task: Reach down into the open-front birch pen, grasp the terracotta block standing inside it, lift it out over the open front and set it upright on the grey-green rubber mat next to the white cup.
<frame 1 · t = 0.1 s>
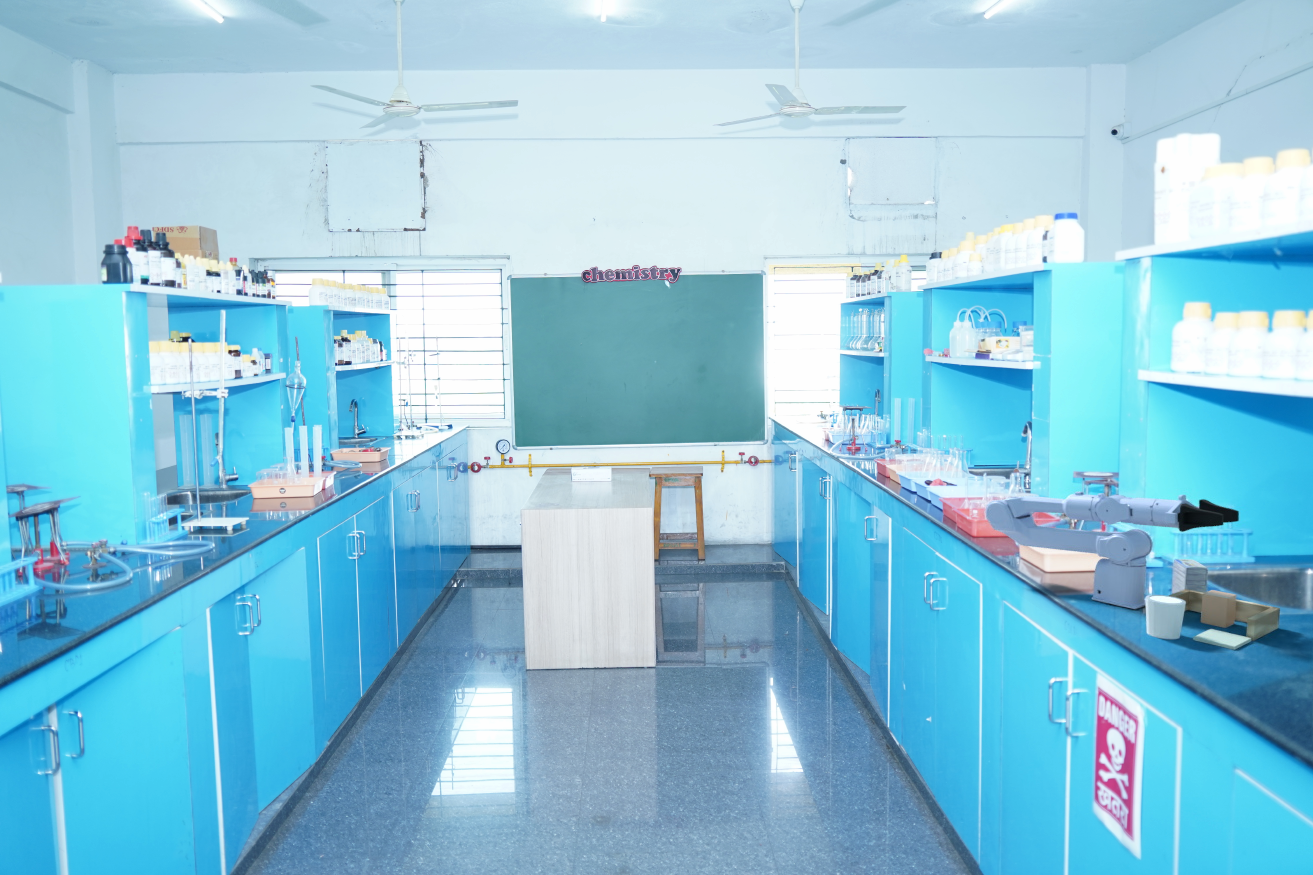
hand: (1230, 518, 180), 22 cm above the table, tool horizontal, fingers open, 7 cm apart
terracotta block: (1217, 623, 184), on the table
rubber mat: (1222, 640, 172), on the table
medicine box: (1188, 602, 198), on the table
white cup: (1162, 635, 176), on the table
birch pen: (1216, 623, 183), on the table
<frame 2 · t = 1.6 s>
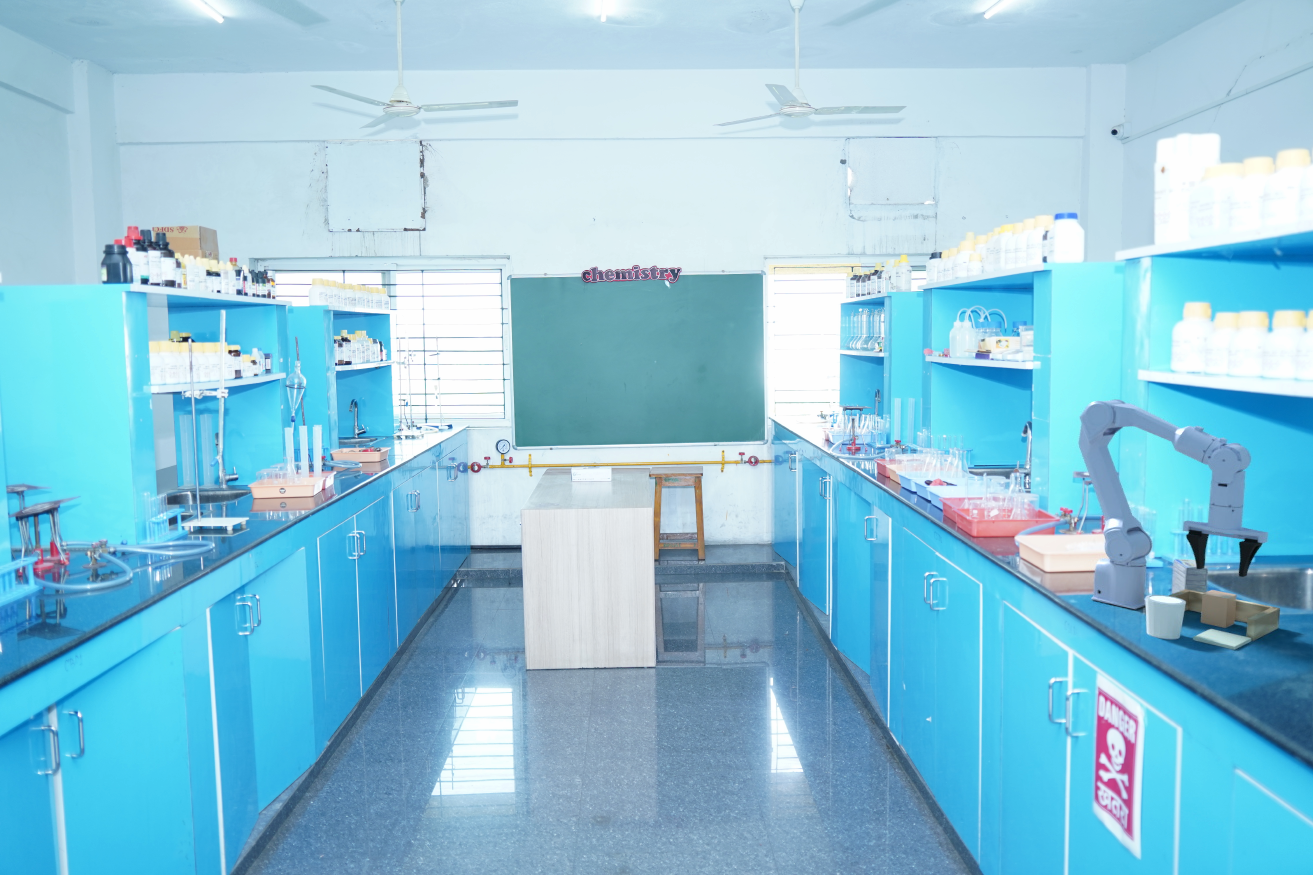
hand: (1221, 572, 182), 10 cm above the table, tool pointing down, fingers open, 7 cm apart
nothing on the table moved.
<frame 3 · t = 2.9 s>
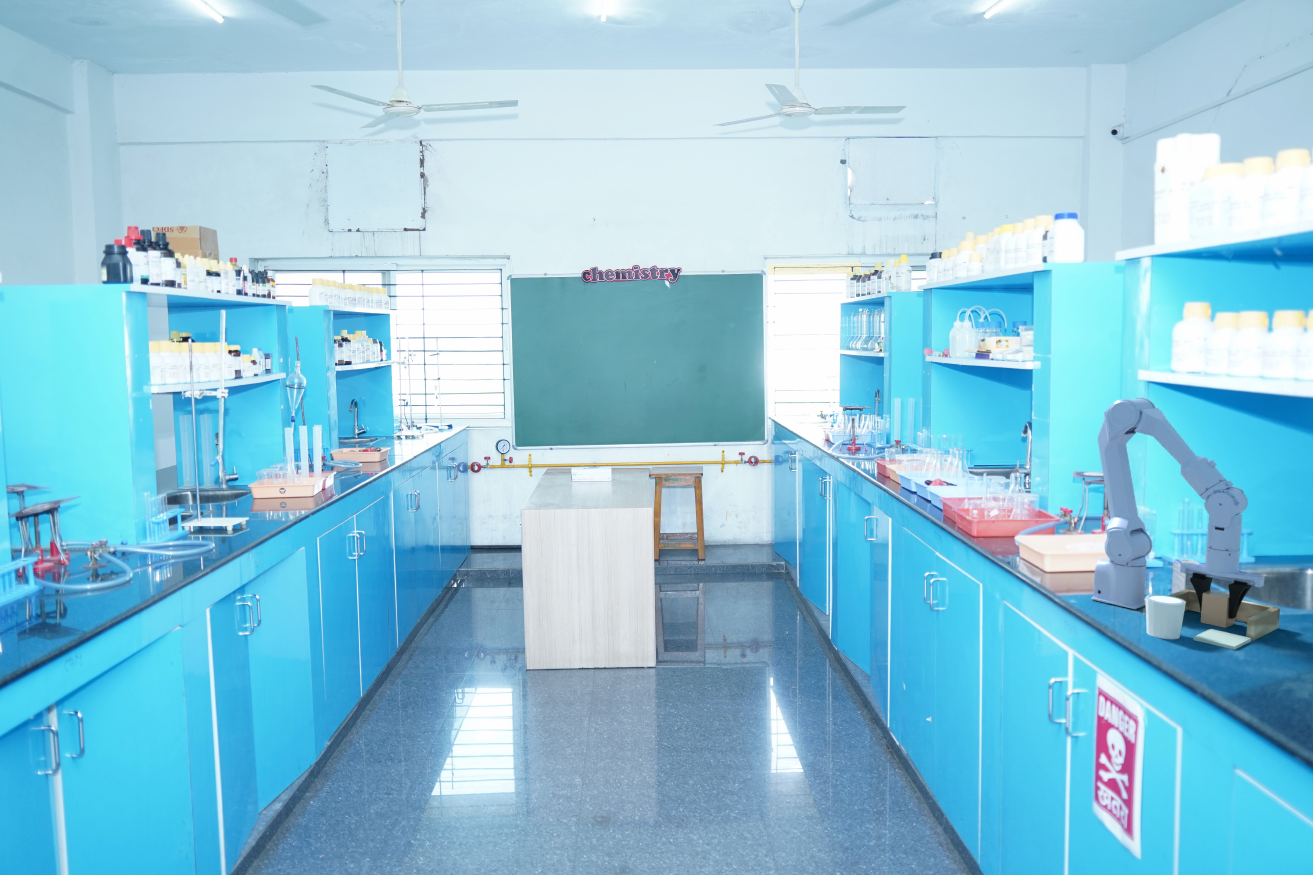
hand: (1218, 614, 183), 2 cm above the table, tool pointing down, fingers closed on terracotta block, 4 cm apart
terracotta block: (1217, 622, 183), on the table, touching gripper
everything else where it was.
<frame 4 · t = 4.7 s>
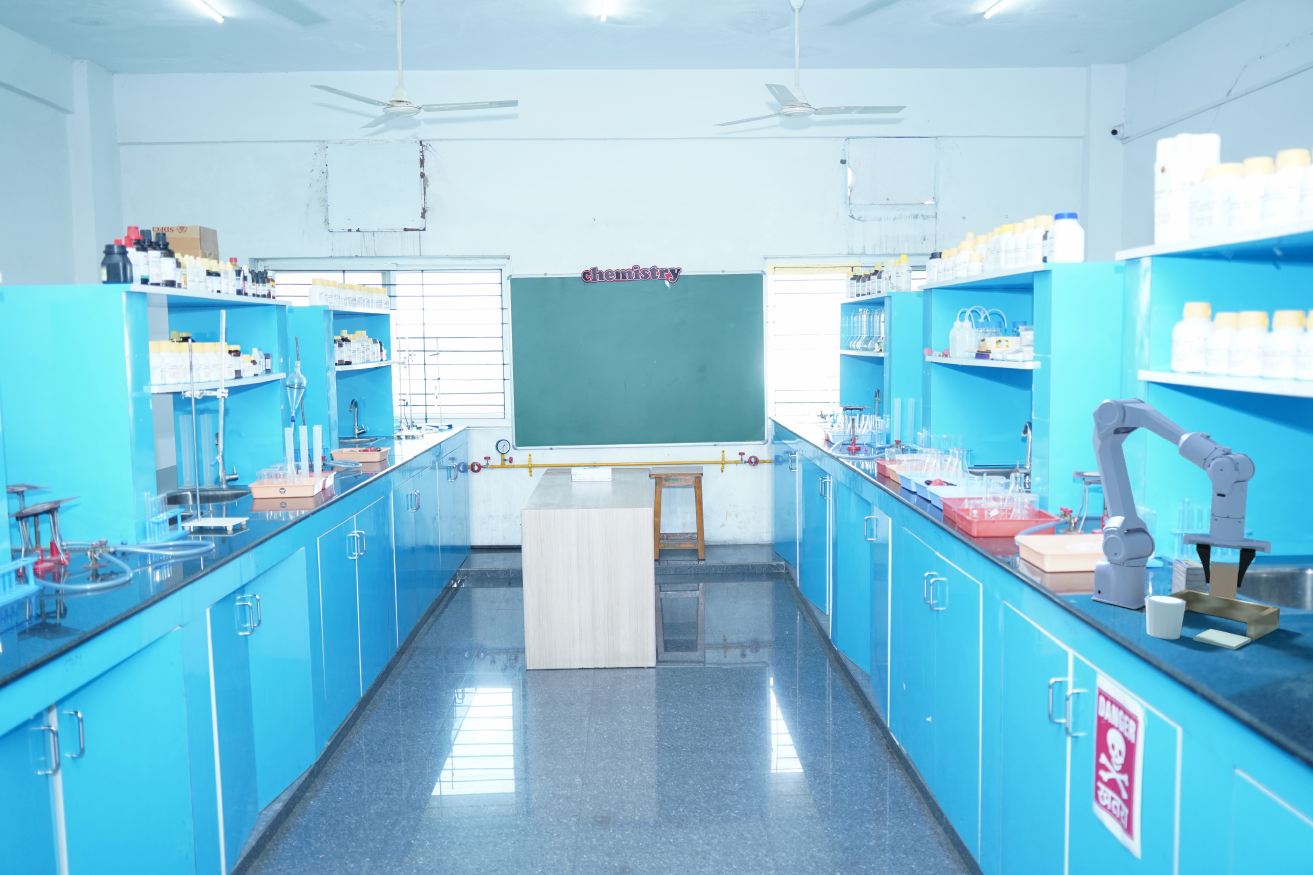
hand: (1223, 584, 179), 9 cm above the table, tool pointing down, fingers closed on terracotta block, 4 cm apart
terracotta block: (1222, 594, 179), point 7 cm above the table, touching gripper
everything else where it was.
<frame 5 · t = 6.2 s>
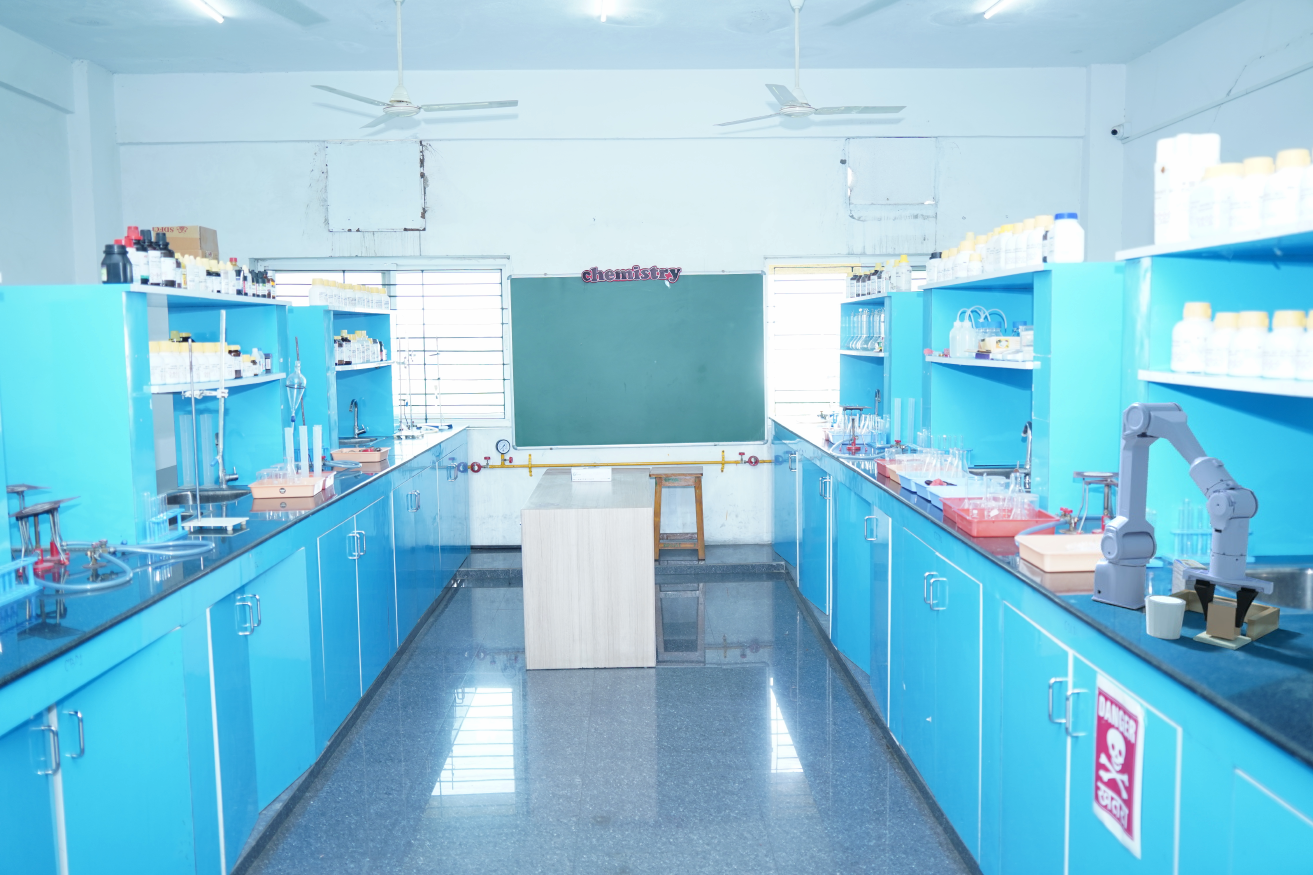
hand: (1223, 623, 172), 3 cm above the table, tool pointing down, fingers closed on terracotta block, 4 cm apart
terracotta block: (1223, 634, 173), point 1 cm above the table, touching gripper
everything else where it was.
when the fingers open (3 cm above the table, at t = 6.8 s): terracotta block stays where it is, resting on rubber mat.
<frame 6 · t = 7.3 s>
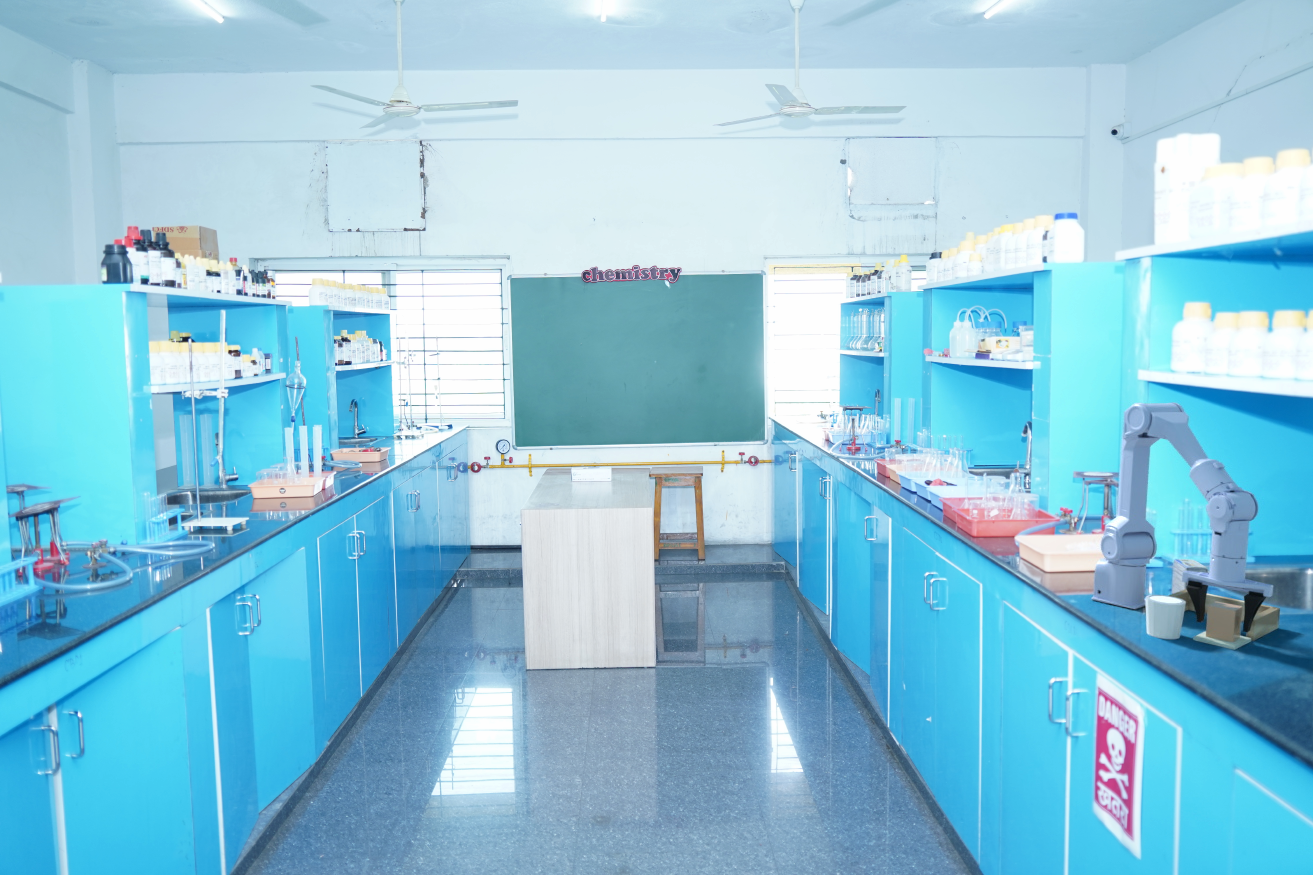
hand: (1223, 625, 172), 3 cm above the table, tool pointing down, fingers open, 7 cm apart
terracotta block: (1222, 636, 173), point 1 cm above the table, touching rubber mat
everything else where it was.
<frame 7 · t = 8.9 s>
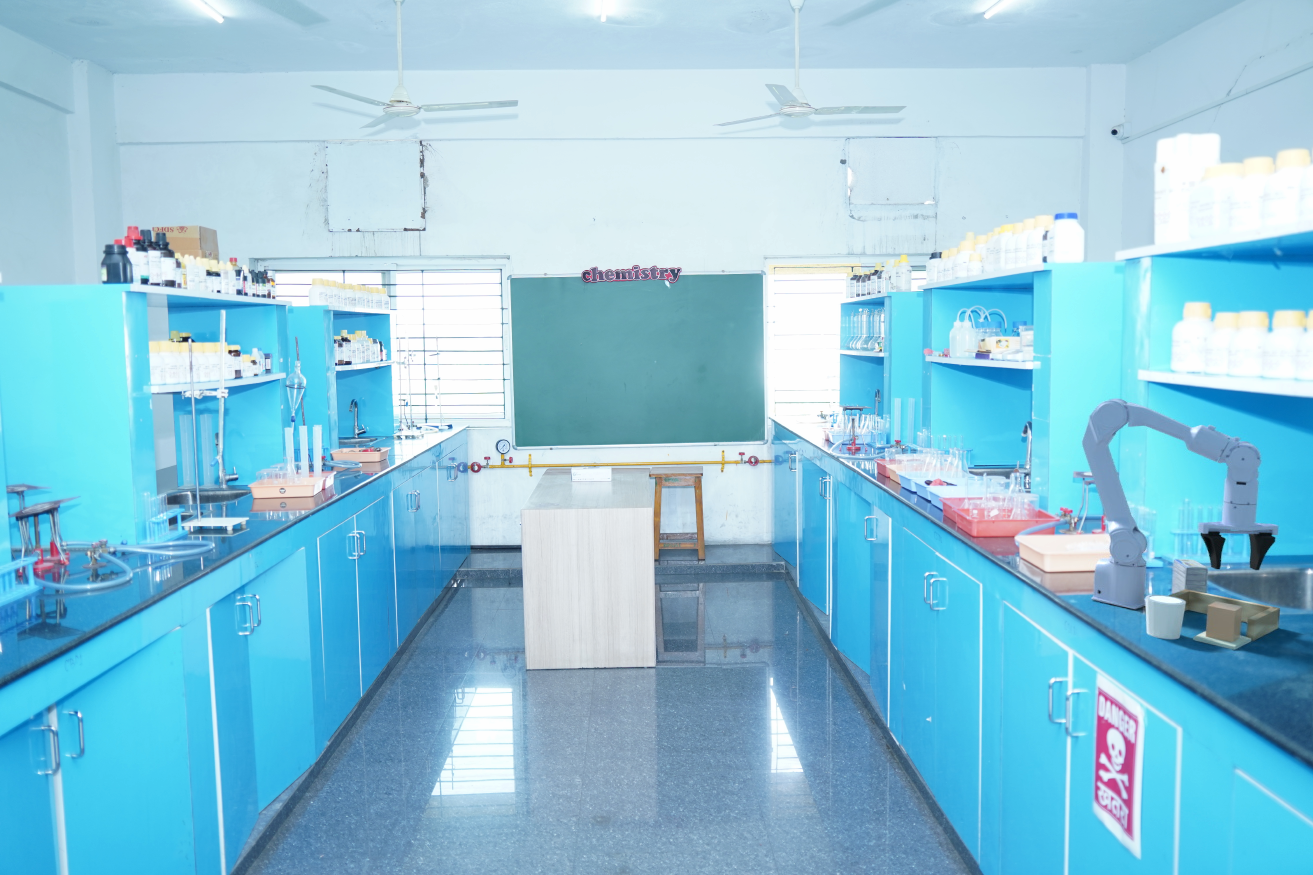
hand: (1234, 568, 185), 10 cm above the table, tool pointing down, fingers open, 7 cm apart
nothing on the table moved.
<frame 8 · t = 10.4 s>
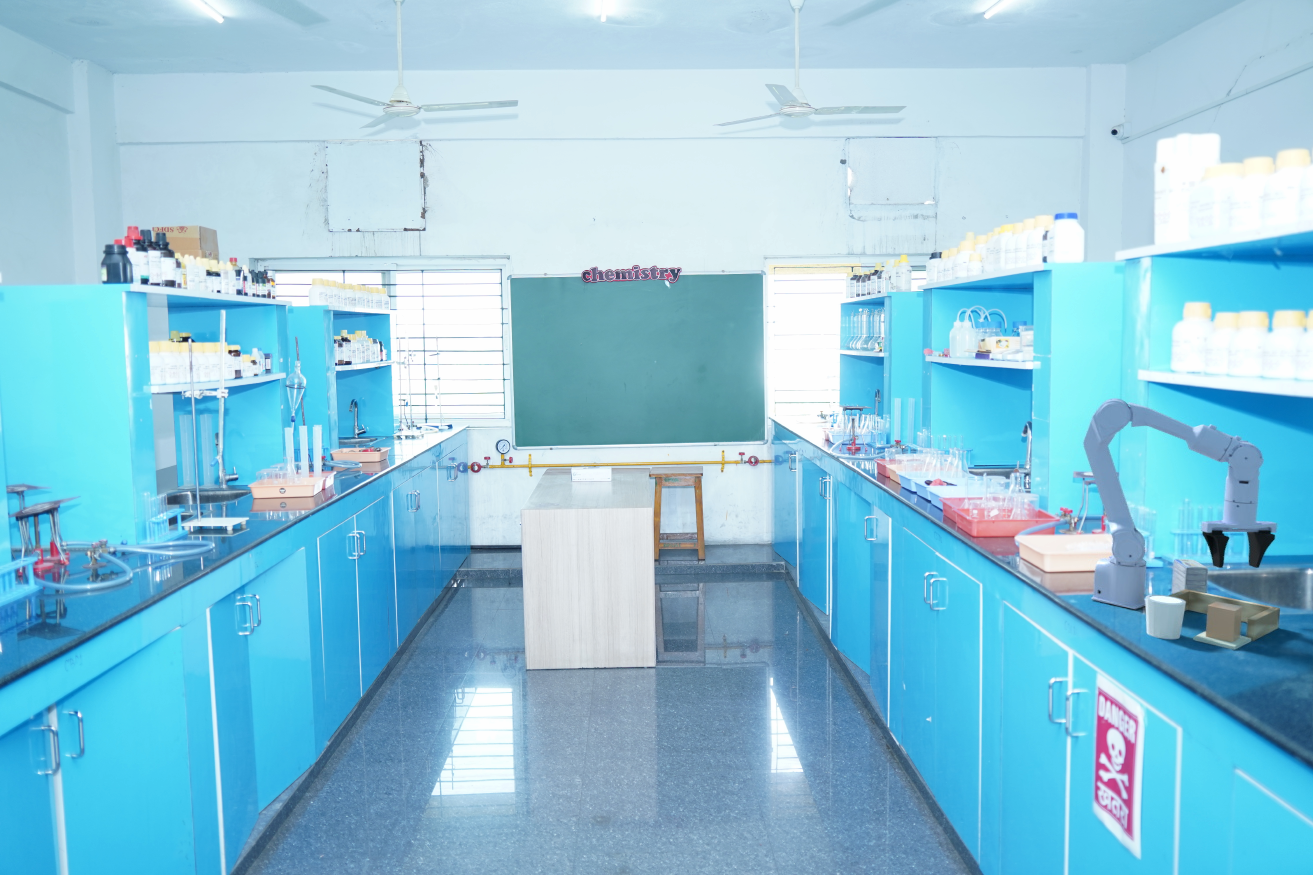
hand: (1235, 566, 187), 10 cm above the table, tool pointing down, fingers open, 7 cm apart
nothing on the table moved.
at the end: terracotta block inside the target area (0.4 cm from its centre), point 0.6 cm above the table; terracotta block tilted 0°; the gripper is holding nothing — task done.
